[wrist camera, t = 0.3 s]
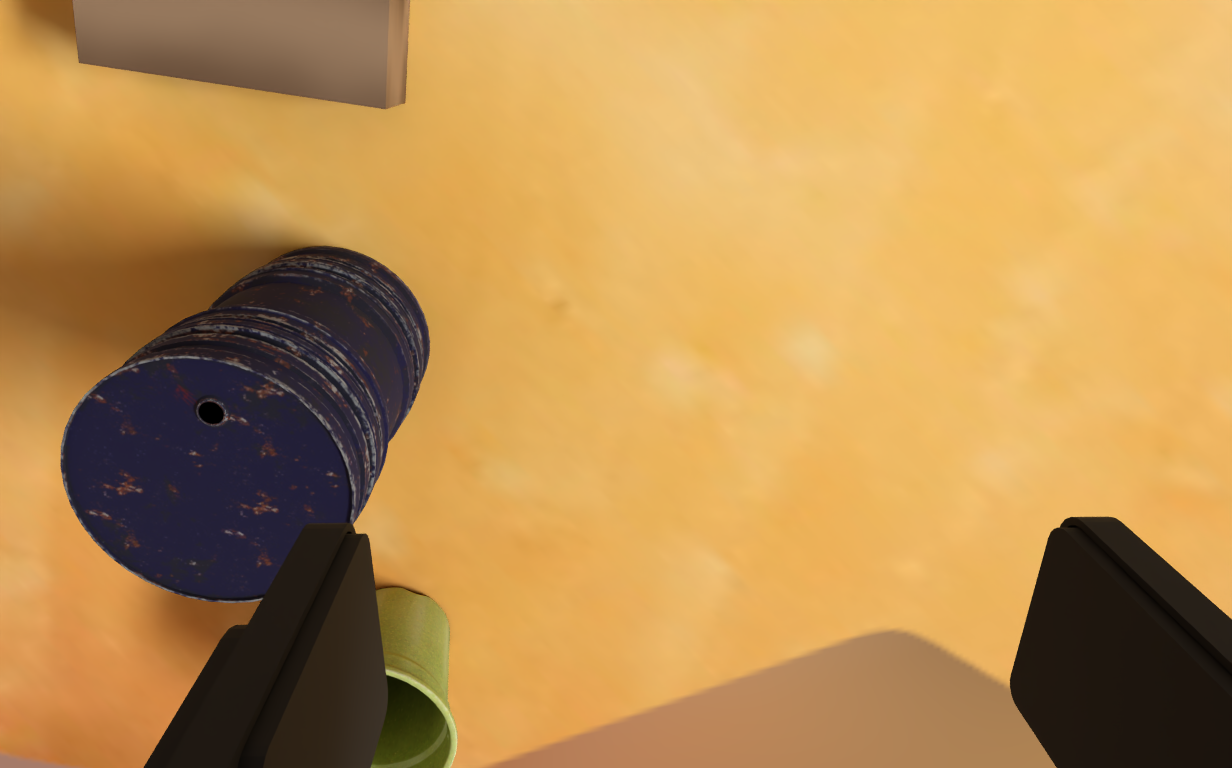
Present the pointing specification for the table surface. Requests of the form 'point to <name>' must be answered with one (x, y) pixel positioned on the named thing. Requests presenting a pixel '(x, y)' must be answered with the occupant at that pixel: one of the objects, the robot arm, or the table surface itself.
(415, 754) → the plant pot
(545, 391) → the table surface
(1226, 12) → the table surface
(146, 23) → the walnut base
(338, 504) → the dark blue cylinder
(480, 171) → the table surface
